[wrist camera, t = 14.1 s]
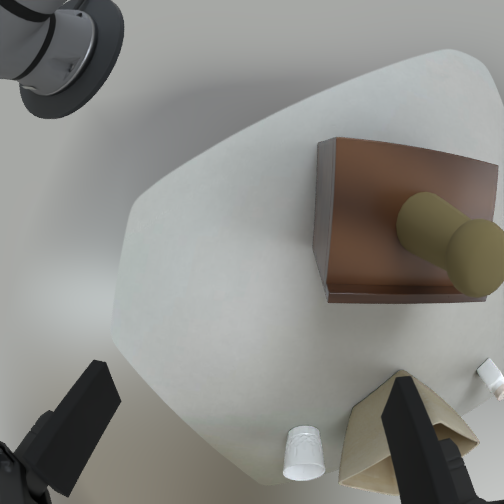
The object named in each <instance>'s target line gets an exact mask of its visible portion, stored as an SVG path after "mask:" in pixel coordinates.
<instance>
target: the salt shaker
mask: <svg viewBox="0 0 504 504" xmlns="http://www.w3.org/2000/svg"><path fill="white" fill-rule="evenodd" d="M477 373H478V374H479V376H480V377H481V379H482V380H483V382H484V383H485V385H486V386H487V388H488V389H489V391H490V392H491V393H494V395H495V397H496V398H497V400H498V401H501V400H503V399H504V376H503V375H502V373H501V372H500V371H499V369H498V368H497V367H496V365H495V364H494V363H493V361H492V360H491V359H487V360H486V361H485V362H484V363H483V364H482V365H481V366H480V367H479V368H478V369H477Z"/></svg>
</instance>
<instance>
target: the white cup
mask: <svg viewBox="0 0 504 504" xmlns="http://www.w3.org/2000/svg"><path fill="white" fill-rule="evenodd" d="M324 473H325V463H324V455H323V448H322V442H321V438H320V432H319V430H318V429H317V428H315V427H313V426H308V425H307V426H298V427H295V428H293V429H291V430H290V431H289V433H288V435H287V443H286V450H285V457H284V467H283V475H284V476H285V477H287V478H289V479H292V480H297V481H304V480H312V479H315V478H318V477H320V476H322V475H323V474H324Z"/></svg>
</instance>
